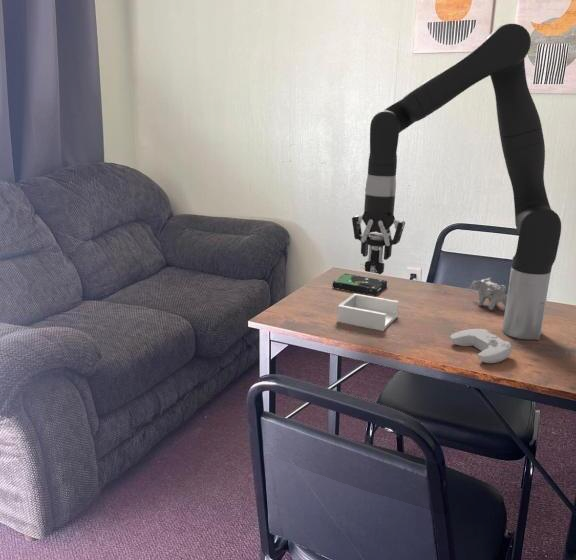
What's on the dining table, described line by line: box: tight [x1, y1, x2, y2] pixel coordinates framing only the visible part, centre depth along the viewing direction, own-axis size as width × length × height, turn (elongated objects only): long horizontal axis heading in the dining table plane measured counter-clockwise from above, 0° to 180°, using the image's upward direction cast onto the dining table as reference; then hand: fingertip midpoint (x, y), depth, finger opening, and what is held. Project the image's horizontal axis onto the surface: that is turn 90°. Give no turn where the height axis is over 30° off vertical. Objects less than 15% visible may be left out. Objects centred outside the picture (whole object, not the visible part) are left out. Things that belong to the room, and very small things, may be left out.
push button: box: [359, 232, 386, 275], centre depth 147 cm, size 7×5×10 cm
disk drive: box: [331, 273, 388, 297], centre depth 179 cm, size 10×3×15 cm
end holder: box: [336, 292, 399, 332], centre depth 152 cm, size 13×12×4 cm
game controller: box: [449, 328, 513, 364], centre depth 133 cm, size 14×4×10 cm
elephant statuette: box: [469, 277, 507, 311], centre depth 165 cm, size 9×12×8 cm
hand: (375, 257), depth 147 cm, fingers closed on push button, 5 cm apart
